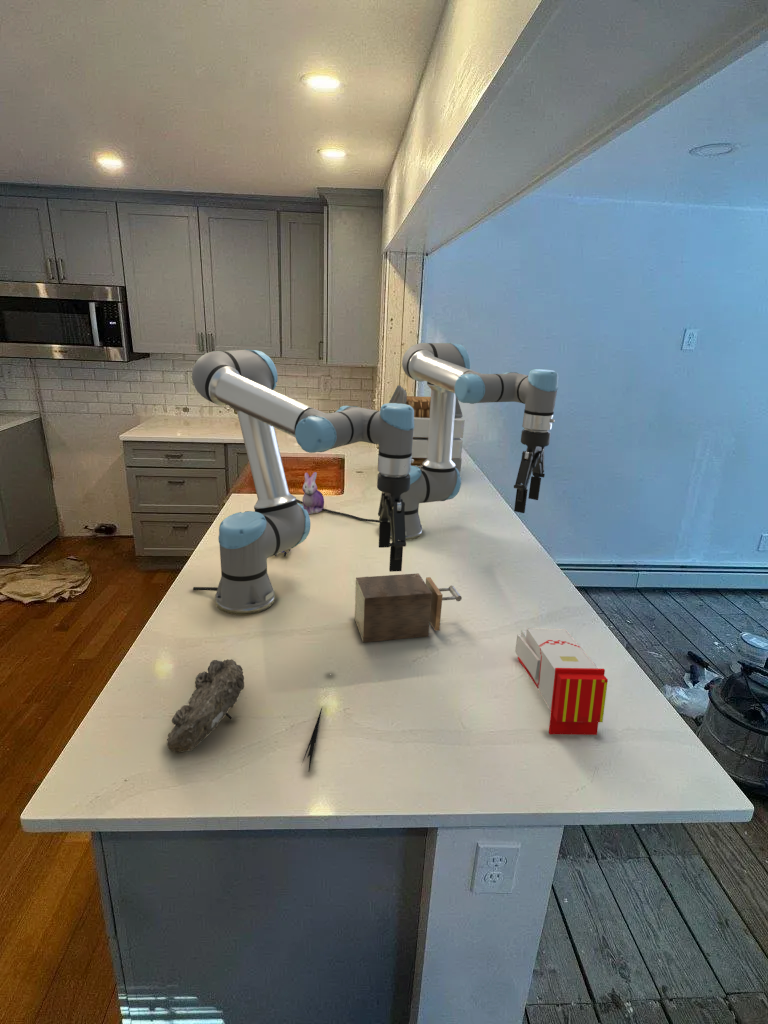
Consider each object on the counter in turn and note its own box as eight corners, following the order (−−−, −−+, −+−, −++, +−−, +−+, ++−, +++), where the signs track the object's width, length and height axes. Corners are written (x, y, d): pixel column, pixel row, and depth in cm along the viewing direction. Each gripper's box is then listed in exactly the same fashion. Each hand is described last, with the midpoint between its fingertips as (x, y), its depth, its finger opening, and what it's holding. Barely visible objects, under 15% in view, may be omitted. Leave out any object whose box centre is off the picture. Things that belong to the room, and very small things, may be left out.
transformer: (382, 463, 289) (386, 382, 275) (445, 464, 293) (451, 384, 279) (390, 482, 257) (394, 392, 243) (460, 483, 261) (468, 394, 247)
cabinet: (415, 614, 148) (418, 573, 144) (428, 636, 138) (431, 593, 134) (354, 619, 144) (355, 577, 140) (363, 642, 134) (364, 598, 130)
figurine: (305, 516, 212) (305, 477, 207) (296, 507, 221) (296, 470, 216) (329, 512, 216) (329, 475, 211) (319, 504, 225) (319, 468, 220)
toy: (561, 612, 132) (617, 675, 103) (556, 665, 135) (608, 741, 106) (510, 611, 132) (551, 674, 102) (505, 664, 134) (544, 741, 105)
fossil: (192, 660, 117) (244, 628, 112) (224, 691, 120) (276, 661, 115) (142, 746, 98) (202, 712, 93) (182, 779, 101) (242, 748, 96)
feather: (331, 679, 122) (336, 673, 122) (307, 777, 96) (313, 769, 95) (324, 675, 122) (329, 669, 121) (298, 772, 95) (304, 764, 95)
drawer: (449, 609, 149) (452, 575, 146) (462, 628, 140) (465, 593, 137) (371, 615, 144) (373, 581, 141) (380, 635, 135) (382, 599, 132)
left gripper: (424, 489, 118) (417, 581, 125) (398, 458, 141) (394, 537, 148) (388, 490, 116) (383, 582, 124) (368, 459, 139) (365, 538, 147)
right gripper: (538, 439, 138) (527, 520, 146) (561, 424, 159) (551, 496, 166) (508, 435, 142) (499, 515, 149) (535, 421, 162) (526, 491, 170)
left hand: (389, 558), depth 136 cm, fingers open, 13 cm apart
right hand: (526, 505), depth 158 cm, fingers open, 13 cm apart
